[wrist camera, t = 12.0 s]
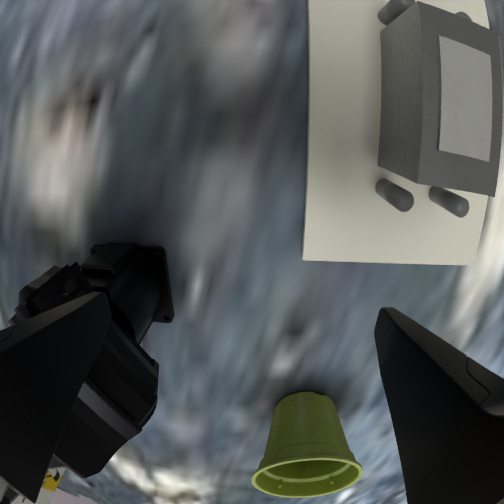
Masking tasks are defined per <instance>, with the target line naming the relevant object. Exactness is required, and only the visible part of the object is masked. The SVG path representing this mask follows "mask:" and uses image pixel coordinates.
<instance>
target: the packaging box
mask: <svg viewBox="0 0 504 504" xmlns="http://www.w3.org/2000/svg"><path fill="white" fill-rule="evenodd" d="M64 471H65V467H62V468H54V469H47V472H46V475H45V478H44V481H43V483H42V486H41V489H40V492H39V495H38V499H37V501H36V503H35V504H49V503H50V500H51V498H52V496H53V494H54V492H55V490H56V488H57V486H58V484H59V481H60V479H61V477H62V475H63V473H64ZM11 504H34V503H32V502H31V501H29V500H27V499H26V498H24V497H23V496H21V495H19V496H18V497H17V498H16V499H15V500H14V501H13V502H12V503H11Z"/></svg>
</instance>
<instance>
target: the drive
mask: <svg viewBox="0 0 504 504" xmlns="http://www.w3.org/2000/svg"><path fill="white" fill-rule="evenodd" d="M380 40H381V118H380V137H379V152H378V165H377V166H379V167H382V168H384V169H386V170H388V171H391V172H393V173H395V174H397V175H399V176H402V177H404V178H406V179H408V180H410V181H412V182H414V183H417V184H422V185H429V186H436V187H442V188H449V189H455V190H460V191H466V192H472V193H477V194H482V195H487V196H492V197H495V191H496V185H497V178H498V170H499V161H500V150H501V136H502V72H501V59H500V49H499V40H498V33H496V32H494V31H492V30H490V29H488V28H486V27H483V26H481V25H479V24H477V23H475V22H473V21H470V20H468V19H466V18H463V17H461V16H459V15H456V14H454V13H451V12H448V11H446V10H443V9H440V8H438V7H435V6H432V5H429V4H426V3H423V2H420V1H417V2H416V3H414V4H413V5H412V6H411V7H409V8H408V9H407V10H406V11H404V12H403V13H402V14H401V15H400V16H398V17H397V18H396V19H395V20H394V21H392V22H391V23H390V24H389V25H388V26H386V27H385V28H384V29H383V30H382V31H381V32H380Z"/></svg>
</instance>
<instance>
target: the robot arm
mask: <svg viewBox="0 0 504 504" xmlns="http://www.w3.org/2000/svg"><path fill="white" fill-rule="evenodd" d="M95 250H97V252H96V251H95ZM90 252H91V256H90V257H89V258H88V259H87V260H86V261H84V262H83V263H82V264H81V266H79V264H78V263H77V262H75V263H74V264H73V265H72V266H70V267H69V265H68V264H67V265H66V266H65V267H63V268H60V267H58V266H53V267H52V268H51V269H49V270H48V271H47V272H46V273H44V274H43V275H42V276H40V277H39V278H37V279H36V280H34V281H32V282H31V283H29V284H28V285H26V286H25V287H24V288H23V289H22V290H21V291H20V292H19V303H18V307H17V308H16V309H15V311H16V314H15V315H14V316H13V317H12V318H11V319H10V320H9V321H8V322H9V323H10V325H11V326H10V327H8V328H6V329H3V330H1V331H0V504H11V503H12V502H13V501H14V500H15V499H16V498H17V497H18V496H19V495H21V496H23V497H24V498H26V499H27V500H29V501H31V502H32V503H34V504H35V503H36V501H37V499H38V495H39V492H40V489H41V486H42V483H43V481H44V478H45V475H46V472H47V469H54V468H62V467H67V468H69V469H70V470H72V471H73V472H74V473H76V474H77V475H79V476H80V477H81V478H87V477H89V476H92V475H94V474H97V473H99V472H100V471H101V470H102V469H103V468H104V466H105V465H106V464H107V463H108V461H109V460H110V459H111V457H112V456H113V455H114V454H115V453H116V452H117V450H118V449H119V448H120V447H122V446H123V445H124V444H125V443H126V442H127V441H128V440H130V439H131V438H133V437H134V436H136V435H137V434H139V433H140V432H141V431H142V427H143V426H144V425H145V424H146V423H147V422H148V421H149V419H150V418H151V416H152V415H153V413H154V411H155V408H156V404H157V398H158V396H157V390H158V373H159V364H158V363H157V362H156V361H155V360H154V359H151V357H150V356H149V355H148V354H147V353H146V352H145V351H144V350H143V348H142V347H141V346H140V343H141V342H142V340H143V338H144V336H145V335H146V333H147V331H148V330H149V328H150V326H151V324H152V323H153V322H162V323H170V322H172V320H173V318H174V314H173V308H172V301H171V294H170V286H169V278H168V270H167V262H166V253H165V251H164V249H163V248H161V247H149V246H138V245H137V244H135V243H112V242H108V243H107V244H105V245H94V246H93V247H92V248H91V250H90ZM156 252H159V253H160V255H161V256H158V255H157V254H156ZM80 269H81V270H80ZM166 316H168V317H169V318H167V317H166ZM374 336H375V342H376V348H377V354H378V361H379V368H380V374H381V378H382V382H383V386H384V390H385V394H386V398H387V402H388V406H389V410H390V414H391V418H392V423H393V427H394V432H395V436H396V441H397V446H398V450H399V455H400V461H401V466H402V471H403V477H404V483H405V489H406V491H407V492H406V496H407V503H408V504H504V379H503V378H501V377H500V376H498V375H496V374H495V373H493V372H491V371H490V370H488V369H486V368H485V367H483V366H482V365H480V364H479V363H477V362H476V361H474V360H473V359H471V358H470V357H467V355H465V354H464V353H462V352H461V351H459V350H458V349H456V348H455V347H453V346H452V345H450V344H449V343H447V342H446V341H444V340H443V339H441V338H440V337H438V336H437V335H435V334H434V333H432V332H431V331H429V330H428V329H426V328H424V327H423V326H421V325H420V324H418V323H417V322H415V321H414V320H412V319H411V318H409V317H408V316H406V315H404V314H403V313H401V312H400V311H398V310H397V309H395V308H393V307H382V308H381V309H380V311H379V314H378V318H377V322H376V326H375V330H374Z"/></svg>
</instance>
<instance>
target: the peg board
mask: <svg viewBox="0 0 504 504" xmlns="http://www.w3.org/2000/svg"><path fill="white" fill-rule="evenodd" d="M417 1H420V2H423V3H426V4H429V5H432V6H435V7H438V8H440V9H443V10H446V11H448V12H451V13H454V14H456V15H459V16H461V17H463V18H466V19H468V20H470V21H473V22H475V23H477V24H479V25H481V26H483V27H486V28H488V29H489V23H488V17H487V12H486V7H485V2H484V0H307V9H308V55H309V96H308V144H307V172H306V193H305V211H304V228H303V242H302V259H303V260H312V261H341V262H371V263H403V264H437V265H473V263H474V260H475V256H476V252H477V248H478V244H479V240H480V235H481V231H482V226H483V221H484V216H485V211H486V205H487V199H488V196H487V195H482V194H477V193H472V192H466V191H460V190H455V189H449V188H442V187H436V186H429V185H422V184H417V183H414V182H412V181H410V180H408V179H406V178H404V177H402V176H399V175H397V174H395V173H393V172H391V171H388V170H386V169H384V168H382V167H379V166H377V165H378V152H379V137H380V118H381V40H380V32H381V31H382V30H383V29H384V28H385V27H386V26H388V25H389V24H390V23H391V22H392V21H394V20H395V19H396V18H397V17H398V16H400V15H401V14H402V13H403V12H404V11H406V10H407V9H408V8H409V7H411V6H412V5H413V4H414V3H416V2H417Z"/></svg>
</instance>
